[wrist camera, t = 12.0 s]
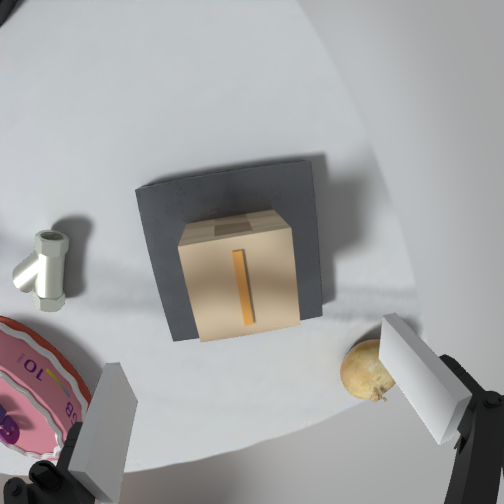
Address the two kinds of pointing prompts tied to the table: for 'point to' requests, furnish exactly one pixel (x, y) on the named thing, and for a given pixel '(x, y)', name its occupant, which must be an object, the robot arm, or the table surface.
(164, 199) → the grey piece
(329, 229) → the table surface
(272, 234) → the taped cardboard box
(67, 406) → the cake
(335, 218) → the table surface
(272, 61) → the table surface
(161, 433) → the table surface
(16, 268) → the pipe fitting
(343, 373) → the onion
